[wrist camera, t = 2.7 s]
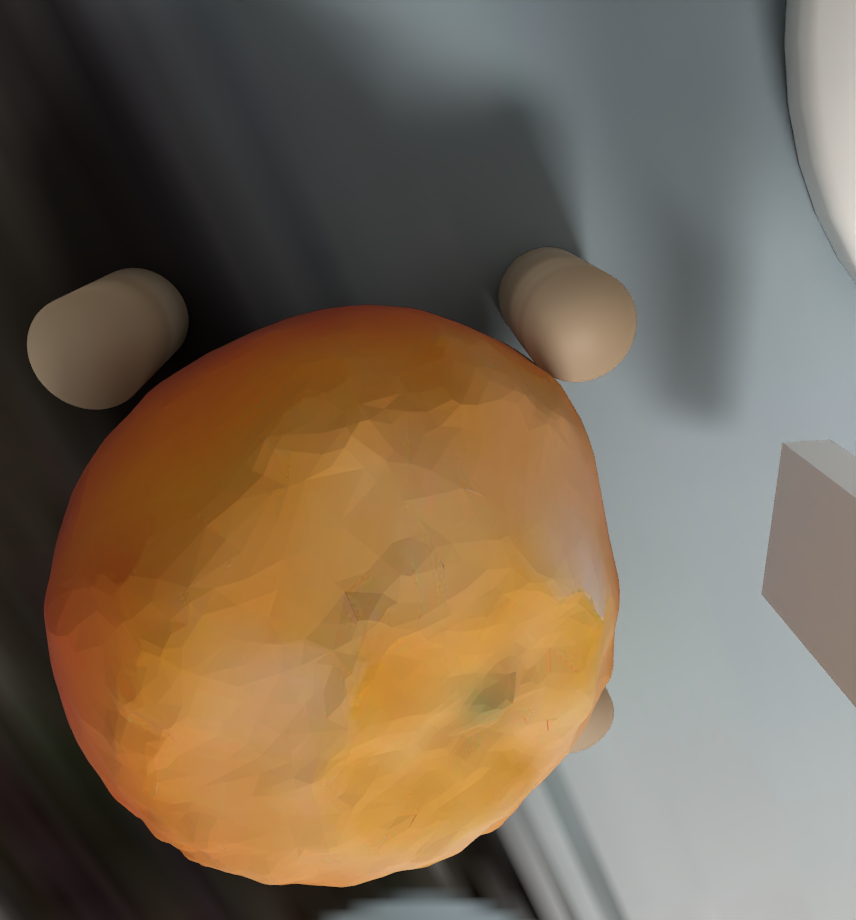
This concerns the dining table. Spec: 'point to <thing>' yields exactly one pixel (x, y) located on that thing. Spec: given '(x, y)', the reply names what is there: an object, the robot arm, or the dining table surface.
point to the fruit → (335, 596)
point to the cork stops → (166, 325)
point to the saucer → (825, 113)
